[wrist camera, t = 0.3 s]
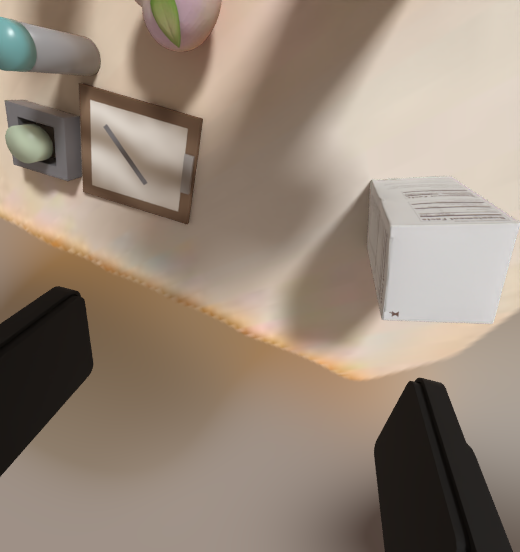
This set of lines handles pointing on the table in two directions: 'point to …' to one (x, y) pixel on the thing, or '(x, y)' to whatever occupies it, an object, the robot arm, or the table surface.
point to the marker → (45, 50)
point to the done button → (29, 143)
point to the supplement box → (437, 250)
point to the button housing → (64, 134)
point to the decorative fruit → (180, 21)
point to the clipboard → (138, 153)
